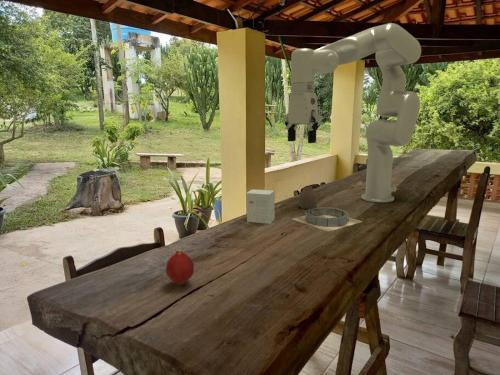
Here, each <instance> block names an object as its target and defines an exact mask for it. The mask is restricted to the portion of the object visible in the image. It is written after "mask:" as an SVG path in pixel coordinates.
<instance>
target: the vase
mask: <svg viewBox="0 0 500 375" xmlns="http://www.w3.org/2000/svg"><path fill="white" fill-rule="evenodd" d="M318 200H319V199H318V195H317V193H316V192H315V189H313V187H312V186H311V185H305V186H304V188H303V189H302V191H301V192H300V193H299V195H298V205H299V208H300V209H303V210H306V211H307V210H308V209H312V208H316V207H317V206H318Z"/></svg>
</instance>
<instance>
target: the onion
mask: <svg viewBox="0 0 500 375" xmlns="http://www.w3.org/2000/svg"><path fill="white" fill-rule="evenodd" d="M194 270H195V265H194V262H193V259H192V258H191V257H190V256H189V255H188V254H186V253H185V252H183V251H182V250H181V249H177V250H176V251H175V253H174V254H172V255H171V257H169V259H168V260H167V263H166V266H165V273H166V275H167V278H168V279H169V280H170V281H171V282H174V283H175V284H177V285H179V286H182V285H185V283H187V282H188V281H189V280H190V279H191V278H192V277H193V274H194Z"/></svg>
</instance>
